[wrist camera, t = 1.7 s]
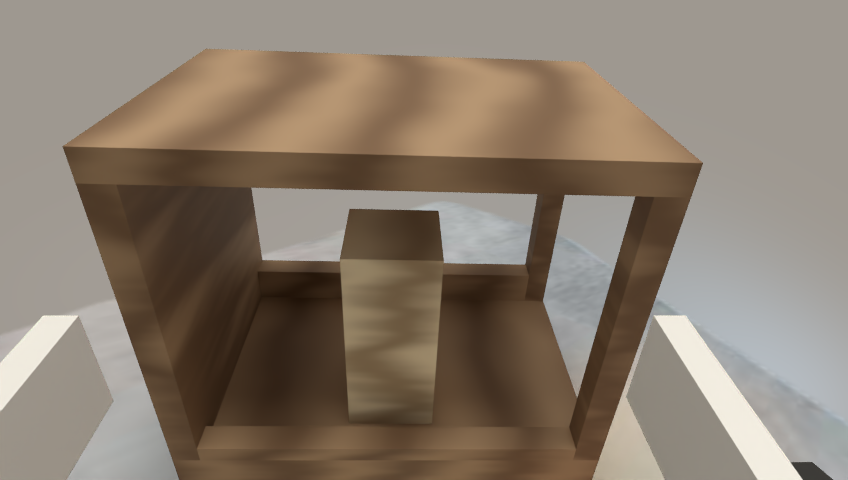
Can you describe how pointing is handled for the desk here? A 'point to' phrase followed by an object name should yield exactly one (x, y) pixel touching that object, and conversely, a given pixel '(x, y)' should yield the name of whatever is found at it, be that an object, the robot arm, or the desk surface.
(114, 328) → the desk surface
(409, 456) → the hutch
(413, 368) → the beech block
